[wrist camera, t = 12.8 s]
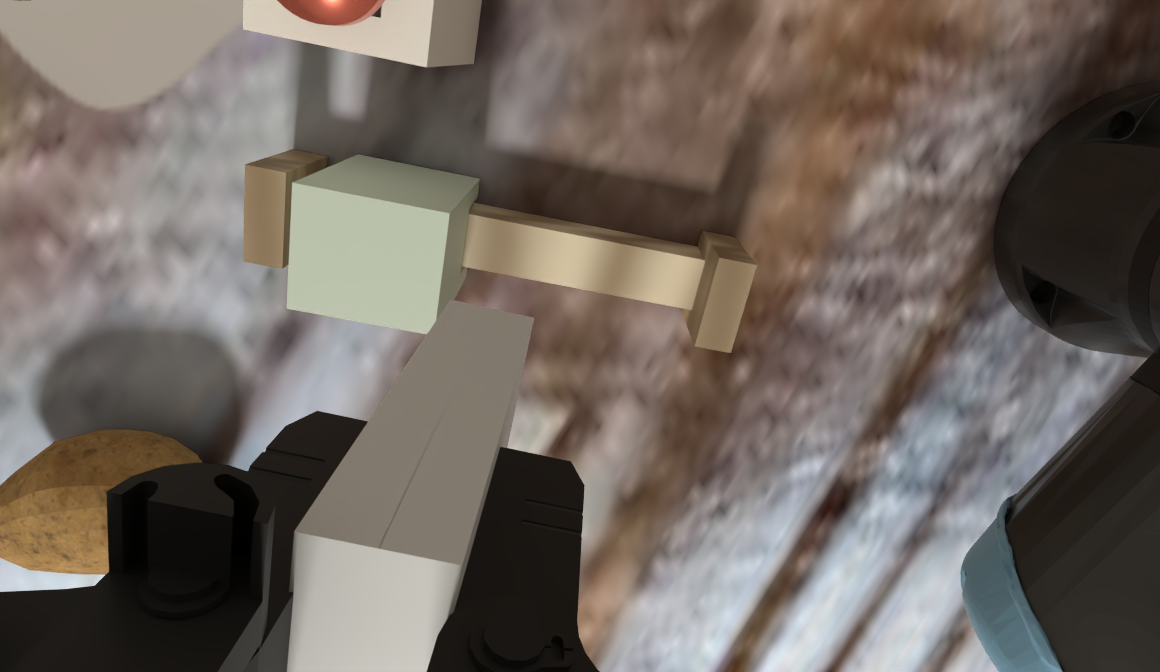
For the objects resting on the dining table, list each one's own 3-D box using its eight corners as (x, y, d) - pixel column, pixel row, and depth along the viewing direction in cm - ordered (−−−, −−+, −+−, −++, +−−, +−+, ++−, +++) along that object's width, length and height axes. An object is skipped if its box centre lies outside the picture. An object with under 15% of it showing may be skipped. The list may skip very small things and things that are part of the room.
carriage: (480, 178, 40) (449, 213, 31) (466, 277, 42) (434, 335, 34) (357, 154, 40) (292, 182, 31) (350, 255, 42) (286, 308, 33)
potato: (18, 419, 47) (-89, 488, 39) (219, 391, 46) (148, 456, 38) (79, 538, 50) (-9, 622, 43) (267, 514, 49) (210, 596, 42)
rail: (734, 236, 42) (757, 265, 36) (712, 314, 43) (730, 352, 38) (292, 149, 40) (245, 164, 34) (289, 233, 42) (243, 261, 36)
